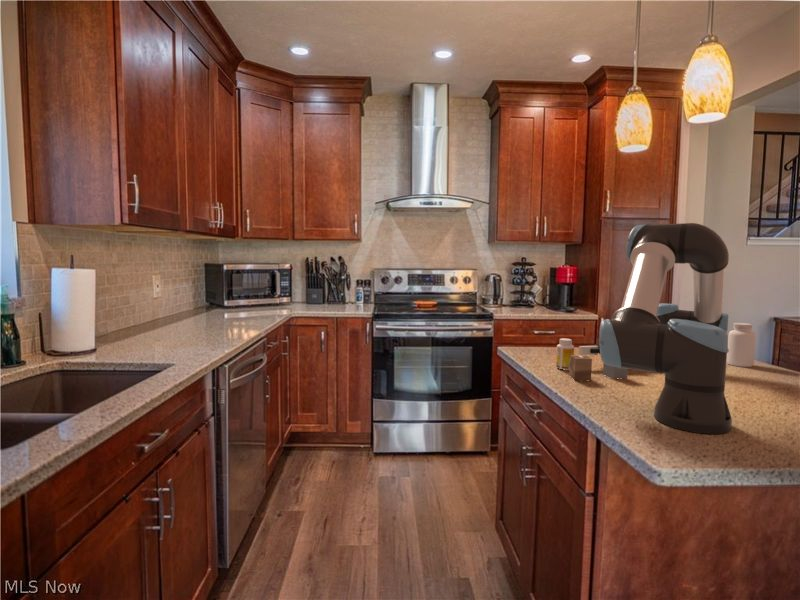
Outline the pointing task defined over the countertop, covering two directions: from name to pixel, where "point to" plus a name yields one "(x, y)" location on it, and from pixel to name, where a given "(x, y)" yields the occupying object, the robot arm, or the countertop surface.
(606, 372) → the slate block
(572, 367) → the walnut block
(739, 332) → the pill bottle
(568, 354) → the supplement bottle
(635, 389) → the countertop surface
